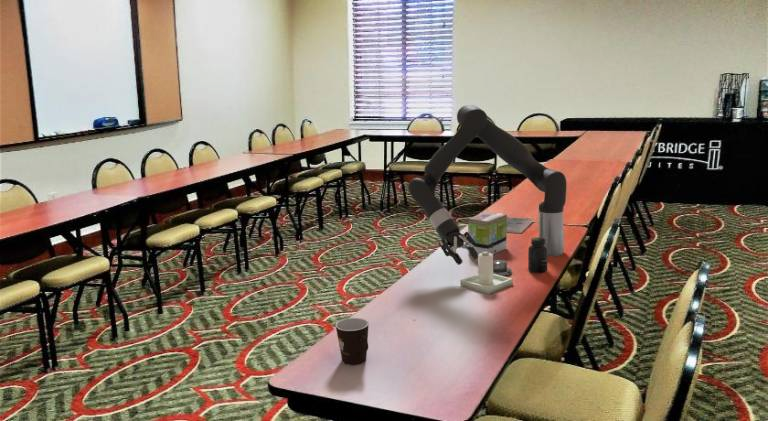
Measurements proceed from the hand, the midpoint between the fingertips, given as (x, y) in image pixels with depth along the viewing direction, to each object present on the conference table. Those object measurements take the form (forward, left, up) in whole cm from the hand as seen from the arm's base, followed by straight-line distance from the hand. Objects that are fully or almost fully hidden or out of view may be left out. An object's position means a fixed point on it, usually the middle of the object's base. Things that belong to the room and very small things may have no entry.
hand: (468, 260), depth 227 cm
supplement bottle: (-24, +12, -7) cm, 28 cm away
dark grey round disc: (-13, +3, -7) cm, 15 cm away
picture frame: (-70, -37, -8) cm, 80 cm away
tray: (0, +8, -7) cm, 11 cm away
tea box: (-32, -18, -8) cm, 38 cm away
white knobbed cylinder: (0, +7, -6) cm, 10 cm away
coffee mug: (+69, +21, -7) cm, 72 cm away
